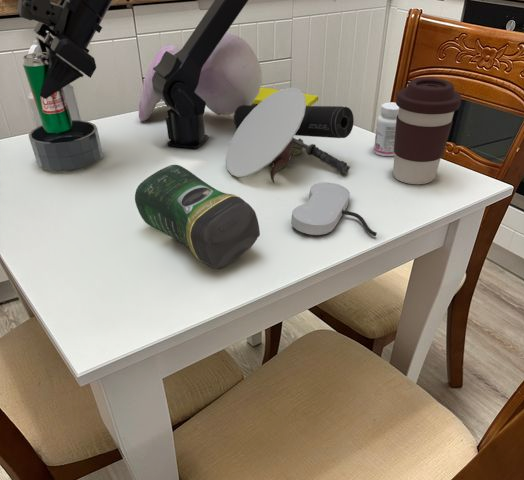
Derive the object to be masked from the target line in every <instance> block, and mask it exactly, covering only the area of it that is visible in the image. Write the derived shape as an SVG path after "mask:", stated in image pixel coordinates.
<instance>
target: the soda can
mask: <svg viewBox="0 0 524 480" xmlns="http://www.w3.org/2000/svg"><path fill="white" fill-rule="evenodd" d="M22 59H23V63H22V67H23V70H24V73H25V76H26V78H27V83H28V85H29V88H30V92H32V95H33V98H34V101H35V104H36V107H37V110H38V113H39V116H40V119H41V122H42V125H43V128H44V131H45V132H46V133H48V134H50V135H62V134H66V133H68V132H70V131H71V130H72V128H73V123H72V119H71V116H70V112H69V108H68V105H67V101H66V98H65V94H64V91H63V88H62V89H60V90H59V91H57V92H56V93H54V94H53V95H51V96H50V97H48V98H47V99H44V98H43V97H41V96H40V90H41V87H42V84H43V81H44V78H45V75H46V72H47V69H48V66H49V63H50V62H49V58H48V54H47V52H38V53H31V54H28V53H27V54H25V55H24V56H23V57H22Z"/></svg>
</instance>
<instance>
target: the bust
mask: <svg viewBox="0 0 524 480" xmlns="http://www.w3.org/2000/svg"><path fill="white" fill-rule="evenodd" d="M180 50H181V48H180V47H179V46H178V45H176V44H171V43H169V44H165V45H164V46H162V47H161V48H160V49H159V50H158V51H157V53H156V54H155V57H154V58H153V60H152V62H151V64H150V65H149V67H148V69H147V71H146V73H145V77H144V79H143V84H142V90H141V95H140V101H139V103H138V104H139V105H138V118H139V120H140V121H142V122H144V121H146V120H148V119H149V118H150V117H151V115H152V114H153V112H154V110H155V108H156V106H157V104H158V103H160V102H161V100H162V99H161V98H160V97H158V96H157V94H156V93H155V92H154V89H153V85H152V77H153V75H154V73H155V72H156V71H154V70H153V68H154V67H156V66H157V65H158V64H159V63H160V61H161V59H162V56H163V54H164V53H165V52H166V51H168V52H169V53H171V54H173V55H174V54H176V53H177V52H179V51H180ZM262 72H263V71H262V67H261V64H260V61H259V59H258V57H257V55H256V53H255V51H254V50H253V48H252V46H250V44H249V43H248V42H247V41H246V40H245V39H244V38H242V37H240V36H239V35H237V34H235V33H231V32H226V33H225V35H224V36H223V38H222V39H221V41H220V42H219V44H218V45H217V46H216V48H215V49H214V51H213V52H212V54H211V55H210V57H209V58H208V60H207V61H206V62H205V64H204V65H203V67H202V69H201V74H200V78H199V83H198V86H197V88H196V90H195V93H196V94H197V95H198V96H199V97H200V98H201V99H203V100H204V101H205V102H206V106H205V107H207V109H208V110H210V111H211V112H212V113H214V114H215V115H217V116H220V115H222V116H230V115H234V113H235V110H236V109H237V108H238V107H239V106H242V105H253V104H252V103H253V101H254V100H255V98H256V97H257V95H258V94H259V91H260V88H261V87H262V84H263V73H262Z"/></svg>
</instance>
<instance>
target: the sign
mask: <svg viewBox="0 0 524 480" xmlns="http://www.w3.org/2000/svg"><path fill="white" fill-rule="evenodd" d="M280 90H281V89H276V88H269V87H264V86H263V87H262V86H261V88H260V91H259V94H258V95H257V97H256V98H255V100H254V101H253V103H252V104H251V105H255V106H257V105H258V104H259V103H261V102H262V101H263V100H264V99H266V98H267V97H269V96H270V95H272V94H273V93H275V92H277V91H280ZM303 94H304V96H305V100H306V106H314V104H315V103H316V102H318V101H319V95H316V94H308V93H303Z"/></svg>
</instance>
